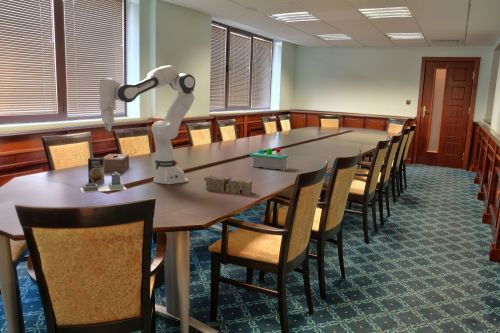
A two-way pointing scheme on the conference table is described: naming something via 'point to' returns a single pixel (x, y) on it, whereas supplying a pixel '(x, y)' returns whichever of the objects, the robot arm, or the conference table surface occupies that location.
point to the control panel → (269, 159)
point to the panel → (101, 187)
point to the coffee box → (96, 170)
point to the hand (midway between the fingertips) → (108, 130)
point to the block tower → (228, 184)
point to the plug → (115, 178)
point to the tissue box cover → (116, 163)
